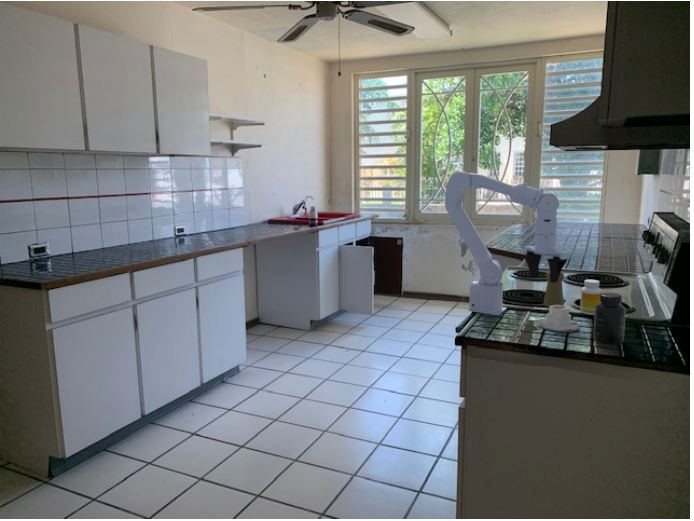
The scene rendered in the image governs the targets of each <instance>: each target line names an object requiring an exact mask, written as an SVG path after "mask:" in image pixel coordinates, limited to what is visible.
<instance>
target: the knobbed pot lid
mask: <svg viewBox="0 0 694 521" xmlns="http://www.w3.org/2000/svg"><path fill="white" fill-rule="evenodd" d="M538 327H539V328H541V329H543V330H546V331H549V332H554V333H573V332H577V331H578V330H579V323H578V322H577V321H575V320H573V319H571V324H568V325H563V326H556V325H553V324H550V323H548V322H546V317H544V318H540V319H539V320H538Z"/></svg>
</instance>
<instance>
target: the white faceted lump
mask: <svg viewBox="0 0 694 521" xmlns="http://www.w3.org/2000/svg"><path fill="white" fill-rule="evenodd" d="M548 308H549V309H548V310H549V311H548V312H547V313H546V317H545V318H546V322H548V323H550V324H553V325H556V326H563V325H568V324H571V320H572V314H570V308H569V307H568V306H567V305H565V304H564V305H552V306H550V307H548Z"/></svg>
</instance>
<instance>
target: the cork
mask: <svg viewBox="0 0 694 521" xmlns="http://www.w3.org/2000/svg"><path fill="white" fill-rule="evenodd" d="M545 279H546V281H547V282H546V283H547V285H546V288H545V294H544V300H543V304H544V305H543V306H545V305H546V306H545V307H547V308H549V307H550V306H552V305H564V306H565V303H564V291H563V290H564V289H563V281H564V279H565V275H564V272H563V271H561V273H560V275H559V278H558V282H554V283H551V281H550V270H549V271H547V273H546V275H545Z"/></svg>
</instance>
